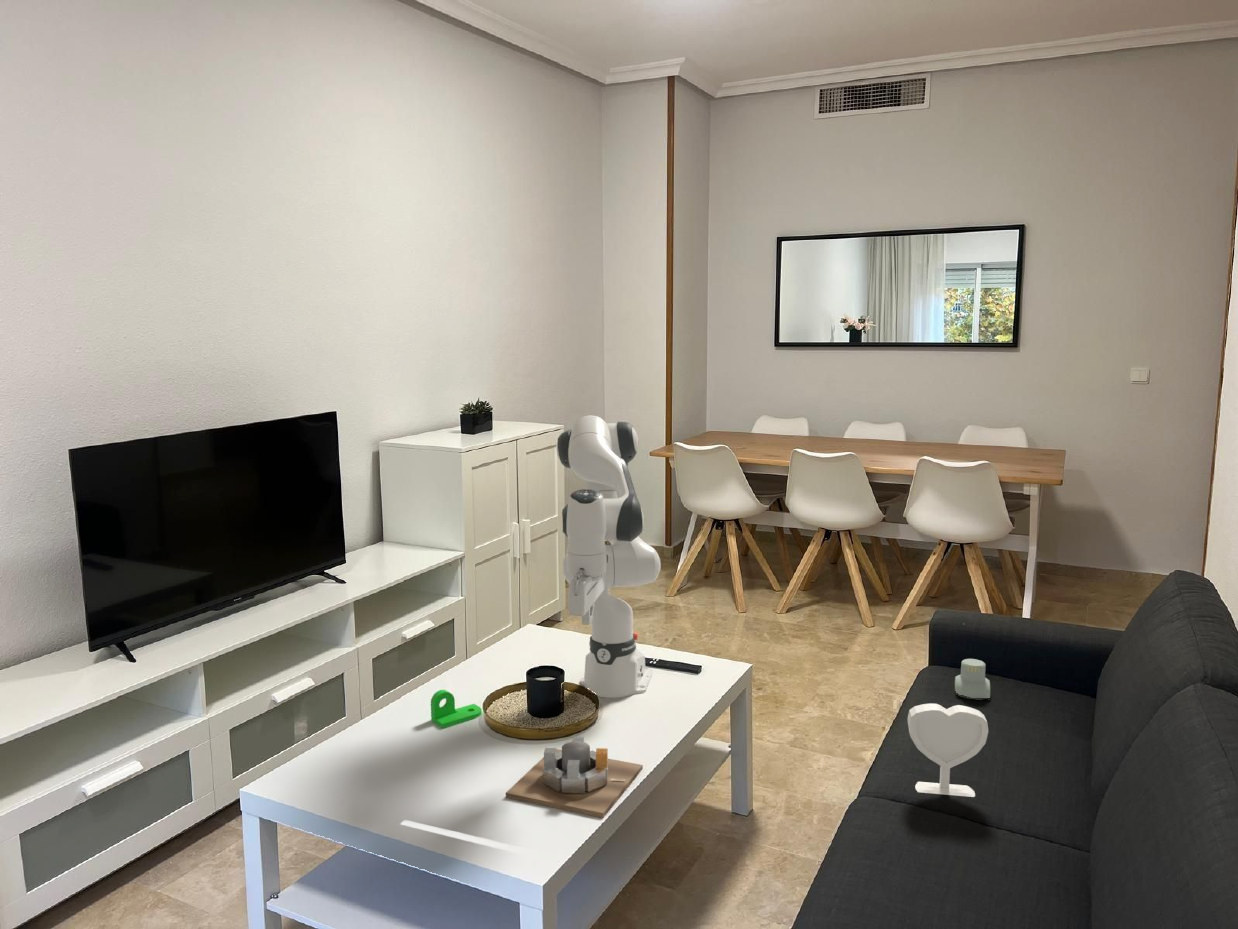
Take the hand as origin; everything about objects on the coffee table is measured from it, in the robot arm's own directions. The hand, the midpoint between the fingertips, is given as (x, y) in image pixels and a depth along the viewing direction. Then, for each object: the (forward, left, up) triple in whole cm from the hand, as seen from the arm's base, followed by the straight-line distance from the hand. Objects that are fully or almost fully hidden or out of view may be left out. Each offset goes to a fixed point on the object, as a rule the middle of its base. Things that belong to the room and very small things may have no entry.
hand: (587, 622), depth 208 cm
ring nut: (+15, +4, -29) cm, 33 cm away
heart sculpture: (-11, +77, -31) cm, 83 cm away
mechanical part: (-3, -37, -31) cm, 48 cm away
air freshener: (-64, +81, -31) cm, 108 cm away
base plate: (+15, +4, -31) cm, 34 cm away
